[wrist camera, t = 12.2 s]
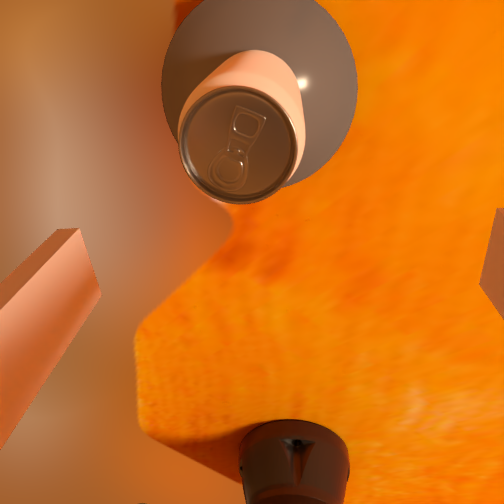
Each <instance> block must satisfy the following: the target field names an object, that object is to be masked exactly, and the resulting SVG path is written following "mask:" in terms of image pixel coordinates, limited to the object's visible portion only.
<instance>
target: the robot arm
mask: <svg viewBox="0 0 504 504" xmlns="http://www.w3.org/2000/svg"><path fill="white" fill-rule="evenodd" d="M479 285H480V286H481V288H482V289H483V291H484V292H485V293H486V295H487V296H488V298H489V299H490V301H491V302H492V303H493V305H494V306H495V308H496V309H497V311H498V312H499V313H500V315H501V316H502V318H503V319H504V208H497V210H496V214H495V218H494V223H493V227H492V231H491V236H490V240H489V244H488V249H487V253H486V257H485V261H484V266H483V270H482V274H481V279H480V283H479ZM101 296H102V294H101V291H100V288H99V285H98V282H97V279H96V276H95V273H94V270H93V267H92V264H91V261H90V258H89V255H88V253H87V250H86V247H85V244H84V241H83V238H82V235H81V232H80V229H79V228H72V229H57V230H56V231H55V232H54V233H53V234H52V235H51V236H50V237H49V238H48V239H47V240H46V241H45V242H44V243H42V245H40V246H39V247H38V248H37V249H36V250H35V251H34V252H33V253H32V254H31V255H30V256H29V257H28V258H27V259H26V260H25V261H23V262H22V263H21V264H20V265H19V266H18V267H17V268H16V269H15V270H14V271H13V272H12V273H11V274H10V275H9V276H8V277H7V278H6V279H4V280H3V281H2V282H1V283H0V450H1V448H2V447H3V445H4V444H5V442H6V440H7V439H8V438H9V436H10V434H11V433H12V431H13V430H14V429H15V427H16V425H17V424H18V422H19V421H20V419H21V418H22V416H23V415H24V413H25V412H26V410H27V409H28V407H29V406H30V404H31V403H32V401H33V399H34V398H35V396H36V395H37V393H38V392H39V390H40V389H41V387H42V386H43V384H44V383H45V381H46V380H47V378H48V377H49V375H50V373H51V372H52V370H53V369H54V367H55V366H56V364H57V363H58V361H59V360H60V358H61V357H62V355H63V354H64V352H65V351H66V349H67V348H68V346H69V345H70V343H71V341H72V340H73V338H74V337H75V335H76V334H77V332H78V331H79V329H80V328H81V326H82V325H83V323H84V321H85V320H86V319H87V317H88V316H89V314H90V312H91V311H92V309H93V308H94V306H95V305H96V303H97V302H98V300H99V299H100V297H101ZM238 463H239V472H240V475H241V477H242V484H243V490H244V495H245V500H246V504H343V502H344V497H345V491H346V484H347V481H348V478H349V474H350V463H349V455H348V450H347V447H346V445H345V443H344V442H343V440H342V439H341V438H340V437H339V436H338V435H337V434H335V433H334V432H332V431H331V430H329V429H327V428H325V427H323V426H320V425H317V424H314V423H310V422H304V421H295V420H286V421H276V422H271V423H268V424H264V425H262V426H259V427H257V428H255V429H254V430H252V431H251V432H250V433H248V434H247V435H246V436H245V438H244V439H243V441H242V443H241V445H240V452H239V461H238ZM140 504H145V503H140Z"/></svg>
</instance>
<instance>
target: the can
mask: <svg viewBox="0 0 504 504" xmlns="http://www.w3.org/2000/svg"><path fill="white" fill-rule="evenodd" d="M178 146H179V154H180V158H181V162H182V164H183V167H184V169H185V171H186V173H187V174H188V176H189V177H190V179H191V180H192V181H193V183H194V184H195V185H196V186H197V187H198V188H199V189H200V190H202V191H203V192H204V193H206V194H207V195H209V196H211V197H212V198H214V199H217V200H219V201H222V202H226V203H230V204H251V203H255V202H259V201H262V200H264V199H266V198H268V197H270V196H272V195H273V194H275V193H276V192H277V191H278V190H279V189H281V188H282V186H283V185H284V184H285V183H286V182H287V181H288V180H289V179H290V178H291V176H292V175H293V174H294V172H295V171H296V169H297V167H298V165H299V163H300V161H301V158H302V155H303V151H304V147H305V122H304V114H303V107H302V100H301V94H300V89H299V85H298V82H297V79H296V77H295V75H294V73H293V71H292V70H291V69H290V67H289V66H288V65H287V64H286V63H285V62H284V61H283V60H282V59H280V58H279V57H277V56H276V55H274V54H272V53H269V52H266V51H261V50H248V51H243V52H240V53H237V54H235V55H233V56H232V57H230V58H229V59H227V60H226V61H225V62H223V63H222V64H221V65H220V66H219V67H218V68H216V69H215V70H214V71H213V72H212V73H211V74H210V75H209V76H208V77H207V78H205V79H204V80H203V81H202V82H201V83H200V84H199V85H198V86H197V87H196V88H195V90H194V91H193V92H192V93H191V94H190V96H189V97H188V99H187V101H186V102H185V104H184V107H183V109H182V111H181V114H180V118H179V123H178Z"/></svg>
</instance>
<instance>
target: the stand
mask: <svg viewBox="0 0 504 504" xmlns="http://www.w3.org/2000/svg"><path fill="white" fill-rule="evenodd" d="M248 50H261V51H266V52H269V53H272V54H274V55H276V56H277V57H279V58H280V59H282V60H283V61H284V62H285V63H286V64H287V65H288V66H289V67H290V69H291V70H292V71H293V73H294V75H295V77H296V79H297V82H298V85H299V89H300V94H301V100H302V107H303V114H304V122H305V147H304V151H303V155H302V158H301V161H300V163H299V165H298V167H297V169H296V171H295V172H294V174H293V175H292V176H291V178H290V179H289V180H288V181H287V182H286V183H285V184H284V185H283V186H282V187H286V186H290V185H292V184H295V183H297V182H299V181H302V180H303V179H305V178H307V177H309V176H310V175H312V174H313V173H315V172H316V171H317V170H319V169H320V168H321V167H322V166H323V165H324V164H325V163H326V162H328V161H329V160H330V158H331V157H332V156H333V155H334V154H335V152H336V151H337V150H338V148H339V147H340V145H341V144H342V142H343V140H344V139H345V137H346V134H347V132H348V130H349V128H350V125H351V122H352V119H353V116H354V112H355V107H356V102H357V90H358V86H357V72H356V67H355V61H354V58H353V54H352V51H351V48H350V46H349V43H348V41H347V39H346V37H345V35H344V33H343V32H342V30H341V29H340V27H339V26H338V24H337V22H336V21H335V20H334V19H333V18H332V16H331V15H330V14H329V13H328V12H327V11H326V10H325V9H324V8H323V7H322V6H320V5H319V4H318V3H317V2H316V1H314V0H204V1H203V2H201V3H200V4H199V5H198V6H196V7H195V8H194V9H193V10H192V11H191V12H190V13H189V15H188V16H187V17H186V18H185V19H184V20H183V22H182V23H181V25H180V26H179V27H178V29H177V30H176V32H175V34H174V36H173V38H172V40H171V42H170V45H169V48H168V50H167V53H166V56H165V61H164V65H163V70H162V82H161V85H162V101H163V107H164V112H165V115H166V119H167V122H168V124H169V127H170V129H171V132H172V134H173V136H174V137H175V139H176V141H177V143H178V123H179V118H180V114H181V111H182V109H183V107H184V104H185V102H186V101H187V99H188V97H189V96H190V94H191V93H192V92H193V91H194V90H195V88H196V87H197V86H198V85H199V84H200V83H201V82H202V81H203V80H204V79H205V78H207V77H208V76H209V75H210V74H211V73H212V72H213V71H214V70H215V69H216V68H218V67H219V66H220V65H221V64H222V63H223V62H225V61H226V60H227V59H229V58H230V57H232V56H233V55H235V54H237V53H240V52H243V51H248Z"/></svg>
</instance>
